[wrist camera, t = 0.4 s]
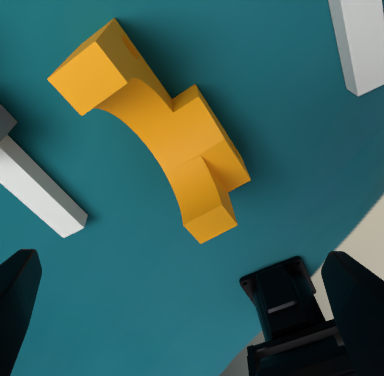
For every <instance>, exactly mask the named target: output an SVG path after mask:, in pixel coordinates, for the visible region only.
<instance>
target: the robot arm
mask: <svg viewBox="0 0 384 376" xmlns="http://www.w3.org/2000/svg"><path fill="white" fill-rule="evenodd" d="M41 275H42V268H41V264H40V260H39V256H38V253H37V251H36V250H35V249H20V250H18V251H17V252H16V253H14V254H13V255H12V256H11V257H9V258H8V259H7V260H6V261H4V262H3V263H2V264H1V265H0V376H10V375H11V372H12V369H13V367H14V364H15V361H16V359H17V356H18V353H19V351H20V348H21V345H22V343H23V340H24V337H25V335H26V332H27V329H28V326H29V322H30V319H31V315H32V311H33V307H34V303H35V299H36V295H37V291H38V287H39V283H40V279H41ZM321 275H322V279H323V282H324V286H325V289H326V293H327V296H328V299H329V303H330V306H331V310H332V313H333V316H334V319H332V320H329V321H326V320H325V318H324V316H323V314H322V312H321V310H320V308H319V306H318V303H317V301H316V299H315V297H314V295H313V294H315V293H316V290H315V287H314V285H313V283H312V281H311V279H310V277H309V274H308V272H307V270H306V268H305V266H304V263H303V261H302V259H301V258H300V257H294V258H292V259H289V260H287V261H284V262H281V263H279V264H276V265H274V266H271V267H268V268H266V269H263V270H261V271H258V272H256V273H253V274H250V275H248V276H245V277H243V278H241V279H240V280H239V282H240V285H241V287H242V288H243V290H244V291H245V292H246V294H247V295H248V297H249V298H250V300H251V301H252V302H253V304H254V305H255V307H256V310H257V313H258V317H259V320H260V324H261V328H262V331H263V335H264V338H265V342H263V343H261V344H257V345H254V346H253V345H252V346H248V347H247V351H248V356H247V361H248V370H249V376H384V281H383V280H382V279H380V278H379V277H378V276H376V275H375V274H374V273H372V272H371V271H370V270H368V269H367V268H365V267H364V266H363V265H361V264H360V263H359V262H357V261H356V260H354V259H353V258H352V257H350V256H349V255H348V254H346V253H345V252H342V251H331V252H330V253H329V254H328V256H327V258H326V260H325V262H324V264H323V266H322V269H321Z"/></svg>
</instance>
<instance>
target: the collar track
mask: <svg viewBox="0 0 384 376" xmlns="http://www.w3.org/2000/svg"><path fill="white" fill-rule="evenodd" d="M328 2H329V7H330V12H331V16H332V21H333V26H334V31H335V36H336V41H337V45H338V50H339V55H340V60H341V65H342V69H343V74H344V79H345V84H346V89H348V90H349V91H351V92H352V93H354V94H355V95H357V96H360V95H363V94H365V93H367V92H369V91H371V90H373V89H375V88H377V87H379V86H381V85H383V84H384V15H383V6H382V0H328ZM17 123H18V122H17V121H16V120H15V119H14V118H13V117H12V116H11V115H10V113H9V112H8V111H7V110H6V109H5V108H4V107H3V106H2V105H1V104H0V183H1V184H2V185H3V186H5V187H6V188H7V189H8V190H9V191H10V192H11V193H13V194H14V195H15V196H16V197H17V198H18V199H19V200H21V201H22V202H23V203H24V204H25V205H26V206H27V207H29V208H30V209H31V210H32V211H33V212H34V213H35V214H36V215H38V216H39V217H40V218H41V219H42V220H43V221H44V222H46V223H47V224H48V225H49V226H50V227H51V228H52V229H54V230H55V231H56V232H57V233H58V234H59V235H60V236H61V237H63V238H64V237H67V236H69V235H71V234H73V233H75V232H77V231H79V230H81V229H83V228H84V227H85V223H86V220H87V216H88V215H87V214H86V213H85V212H84V211H83V210H82V209H81V208H80V207H79V206H78V205H77V204H76V203H75V202H74V201H73V200H72V199H71V198H70V197H69V196H68V195H67V194H66V193H65V192H64V191H63V190H62V189H61V188H60V187H59V186H58V185H57V184H56V183H55V182H54V181H53V180H52V179H51V178H50V177H49V176H48V175H47V174H46V173H45V172H44V171H43V170H42V169H41V168H40V167H39V166H38V165H37V164H36V163H35V162H34V161H33V160H32V159H31V158H30V157H29V156H28V155H27V154H26V153H25V152H24V151H23V150H22V149H21V148H20V147H19V146H18V145H17V144H16V143H15V142H14V141H13V140H12V139H11V138H10V137H9V136H8V135H7V134H8V133H9V132H10V130H11V129H12V128H13V127H14V126H15V125H16V124H17Z"/></svg>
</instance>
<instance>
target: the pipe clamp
mask: <svg viewBox="0 0 384 376" xmlns="http://www.w3.org/2000/svg"><path fill="white" fill-rule="evenodd" d="M48 81H49V82H50V83H51V84H52V85H53V86H54V87H55V88H56V89H57V90H58V91H59V92H60V93H61V95H62V96H63V97H64V98H65V99H66V100H67V101H68V102H69V103H70V104H71V105H72V106H73V107H74V108H75V110H76V111H77V112H78V113H79V114H80V115H81V116H83V115H84V114H85V113H87V112H88V111H90V110H91V109H93V108H97V109H102V110H105V111H108V112H109V113H111V114H113V115H115V116H116V117H118V118H119V119H121V120H122V121H123V122H124V123H126V124H127V125H128V126H129V127H130V128H131V129H132V130H133V131H134V132H135V133H136V134H137V135H138V136H139V137H140V138H141V140H142V141H143V142H144V143H145V144H146V146H147V147H148V148H149V149H150V151H151V152H152V154H153V155H154V156H155V158H156V159H157V161H158V162H159V164H160V166H161V167H162V169H163V171H164V172H165V174H166V176H167V178H168V180H169V182H170V184H171V186H172V188H173V190H174V193H175V195H176V198H177V201H178V204H179V207H180V210H181V214H182V219H183V225H184V227H185V228H186V229H187V230H188V231H189V232H190V233H191V234H192V235H193V236H194V237H195V238H196V239H197V240H198V242H199V243H200V244H202V243H204V242H206V241H207V240H209V239H211V238H213V237H215V236H217V235H219V234H221V233H223V232H225V231H227V230H229V229H231V228H233V227H235V226H237V225H238V224H237V221H236V218H235V214H234V211H233V208H232V204H231V201H230V197H229V194H228V192H230V191H232V190H234V189H235V188H237V187H239V186H241V185H243V184H245V183H246V182H248V181H250V180H251V179H250V176H249V174H248V171H247V169H246V167H245V164H244V162H243V159H242V157H241V155H240V154H239V152H238V151H237V149H236V147H235V146H234V144H233V143H232V141H231V140H230V138H229V136H228V135H227V133H226V132H225V130H224V129H223V127H222V125H221V124H220V122H219V121H218V119H217V118H216V116H215V114H214V113H213V111H212V110H211V108H210V107H209V105H208V103H207V102H206V100H205V99H204V97H203V96H202V94H201V92H200V91H199V89H198V88H197V86H196V85H195V84H194V85H193V86H191V87H190V88H188V89H187V90H185V91H184V92H182V93H181V94H179V95H178V96H176V97H175V98H173V99H172V98H171V97H170V96H169V94H168V93H167V91H166V90H165V88H164V87H163V86H162V84H161V83H160V81H159V80H158V79H157V77H156V76H155V74H154V73H153V71H152V70H151V69H150V67H149V66H148V64H147V63H146V62H145V60H144V59H143V57H142V56H141V54H140V53H139V52H138V50H137V49H136V47H135V46H134V45H133V43H132V42H131V40H130V39H129V37H128V36H127V35H126V33H125V32H124V30H123V29H122V28H121V26H120V25H119V23H118V22H117V20H116V19H115V18H113V19H112V20H111V21H110V22H108V23H107V24H106V25H105V26H103V27H102V28H101V29H100V30H98V31H97V32H96V33H95V34H93V35H92V36H91V37H90V38H88V39H87V40H86V41H85V42H83V43H82V44H81V45H80V46H79V47H78V48H77V49H76V50H75V51H74V52H73V53H72V54H71V55H70V56H69V57H68V58H67V59H66V60H65V61H64V62H63V63H62V64H61V65H60V66H59V67H58V68H57V69H56V70H55V71H54V72H53V74H52V75H51V76H50V77H49V78H48Z"/></svg>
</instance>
